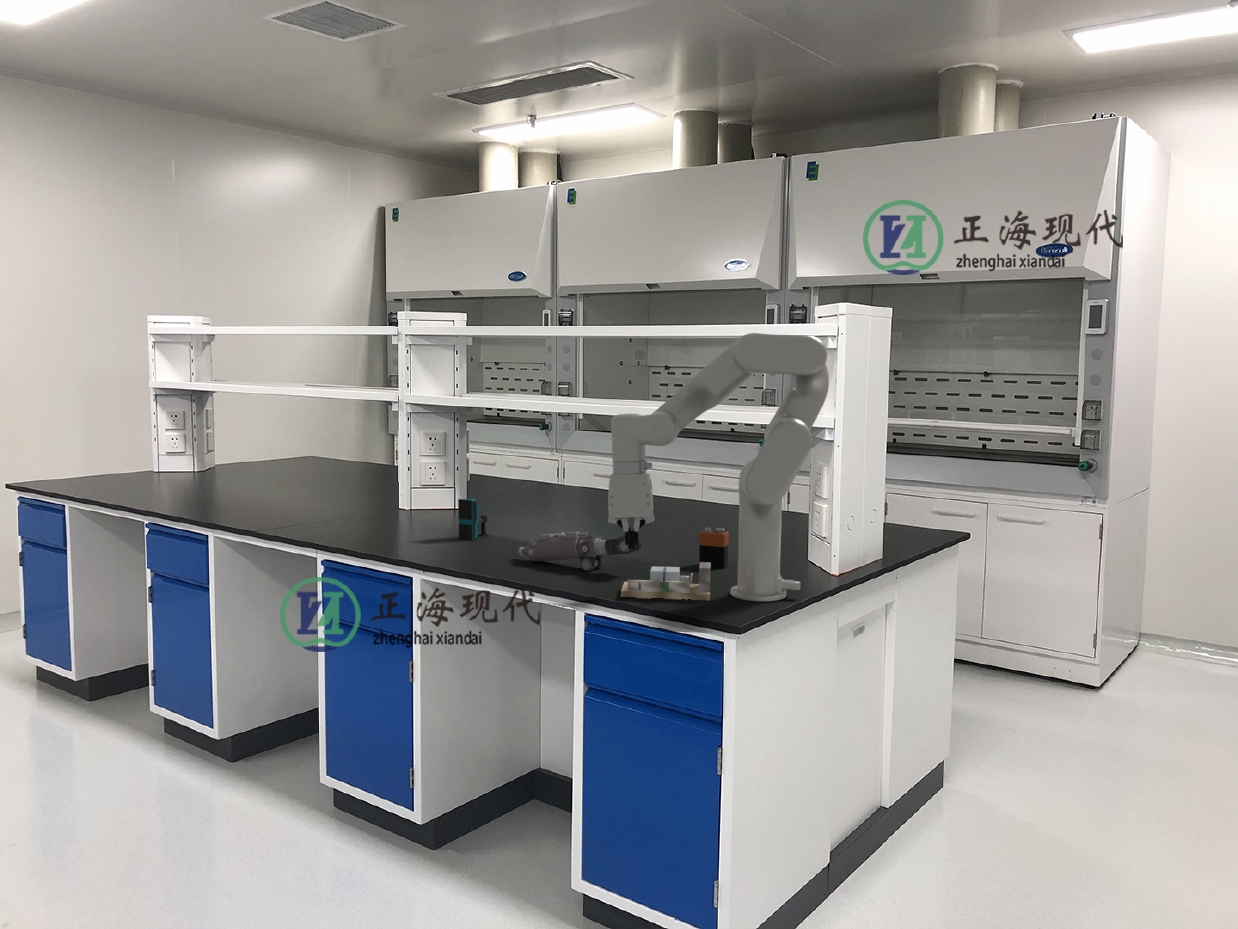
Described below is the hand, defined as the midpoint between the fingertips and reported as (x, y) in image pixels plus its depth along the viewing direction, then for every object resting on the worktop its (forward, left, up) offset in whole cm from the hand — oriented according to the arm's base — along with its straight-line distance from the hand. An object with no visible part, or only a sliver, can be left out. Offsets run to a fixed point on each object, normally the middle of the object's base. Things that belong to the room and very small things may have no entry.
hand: (632, 547), depth 214 cm
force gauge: (-9, +2, -9) cm, 13 cm away
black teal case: (+52, -61, -11) cm, 81 cm away
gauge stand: (-8, 0, -11) cm, 13 cm away
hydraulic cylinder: (+17, -25, -11) cm, 32 cm away
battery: (-19, -31, -11) cm, 38 cm away
